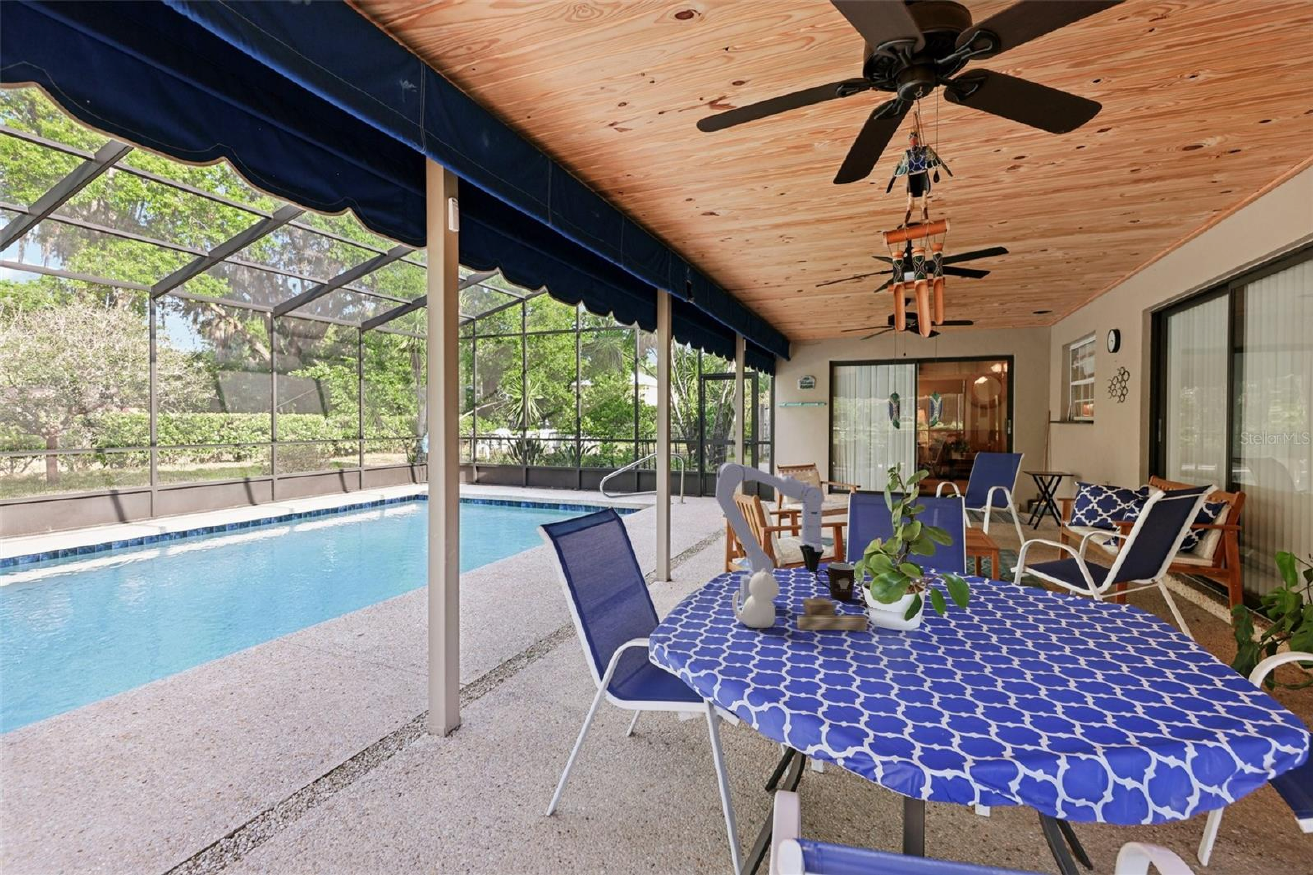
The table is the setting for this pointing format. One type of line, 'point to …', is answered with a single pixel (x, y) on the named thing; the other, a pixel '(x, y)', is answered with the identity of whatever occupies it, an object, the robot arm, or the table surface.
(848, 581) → the coffee mug
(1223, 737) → the table surface
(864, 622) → the board
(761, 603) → the cat figurine
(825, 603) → the walnut block
